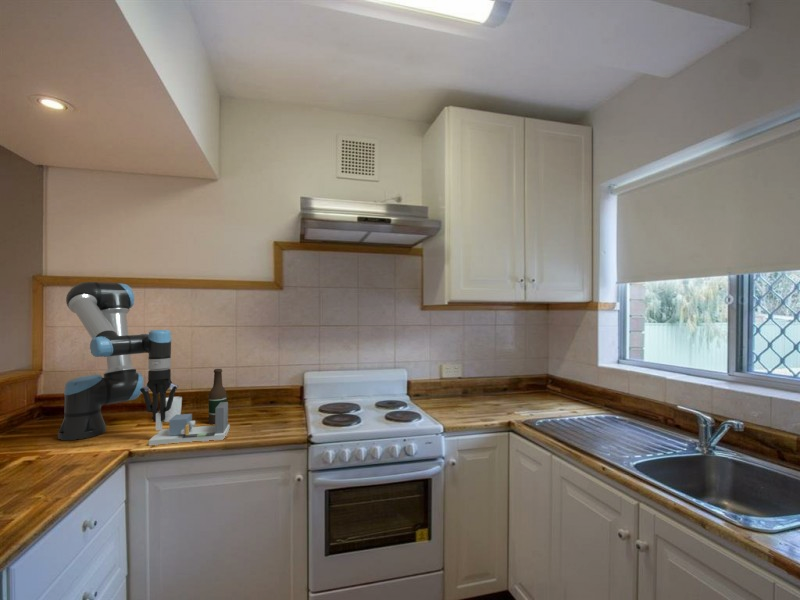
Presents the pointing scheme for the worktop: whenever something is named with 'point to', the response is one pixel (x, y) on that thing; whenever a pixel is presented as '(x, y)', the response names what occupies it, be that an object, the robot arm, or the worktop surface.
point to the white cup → (173, 408)
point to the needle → (187, 429)
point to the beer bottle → (216, 395)
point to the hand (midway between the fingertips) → (159, 429)
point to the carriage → (180, 424)
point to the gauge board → (198, 430)
